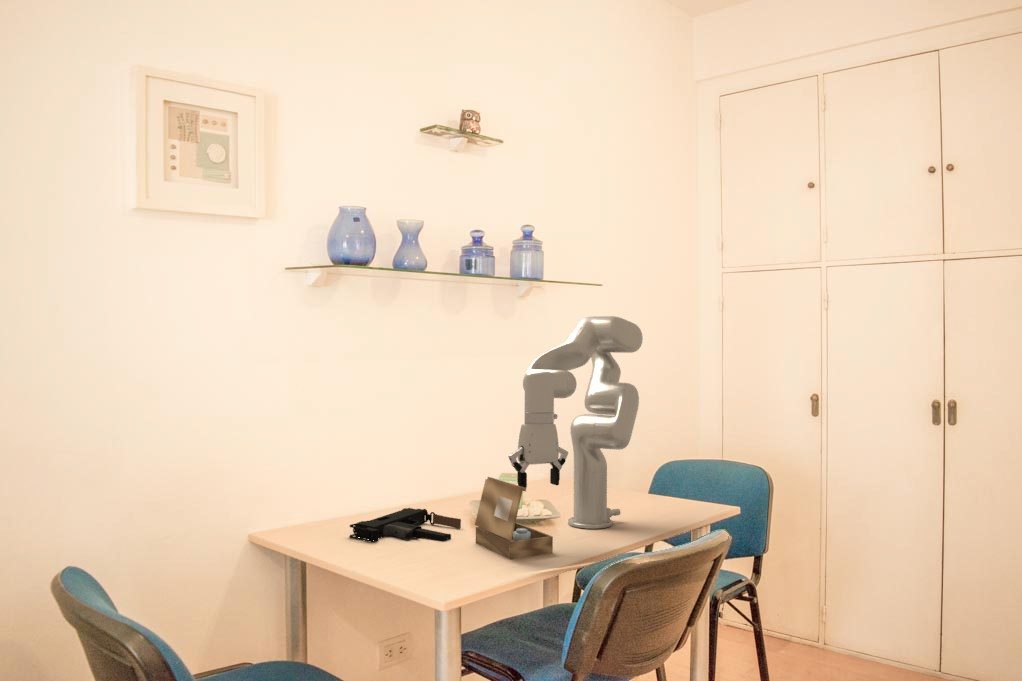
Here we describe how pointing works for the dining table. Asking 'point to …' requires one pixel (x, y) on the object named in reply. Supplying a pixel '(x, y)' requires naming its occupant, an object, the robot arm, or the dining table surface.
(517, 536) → the blue jar
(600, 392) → the robot arm
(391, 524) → the submachine gun
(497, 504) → the lid
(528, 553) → the box
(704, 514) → the dining table surface
